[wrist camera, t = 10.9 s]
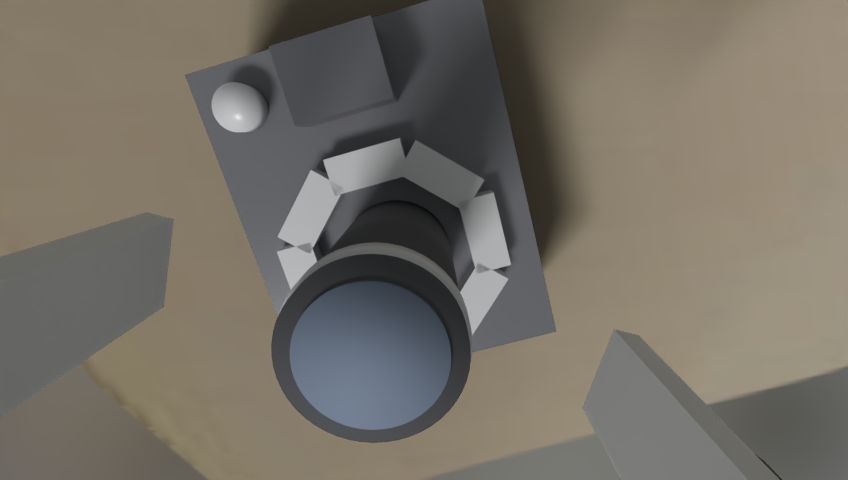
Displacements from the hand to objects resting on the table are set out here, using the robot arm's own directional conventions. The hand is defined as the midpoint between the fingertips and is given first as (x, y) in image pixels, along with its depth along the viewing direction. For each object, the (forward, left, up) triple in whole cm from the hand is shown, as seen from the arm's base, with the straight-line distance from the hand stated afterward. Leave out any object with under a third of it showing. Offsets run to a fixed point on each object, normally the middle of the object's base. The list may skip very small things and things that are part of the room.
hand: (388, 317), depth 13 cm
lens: (0, 0, -8) cm, 8 cm away
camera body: (0, -2, -14) cm, 14 cm away
